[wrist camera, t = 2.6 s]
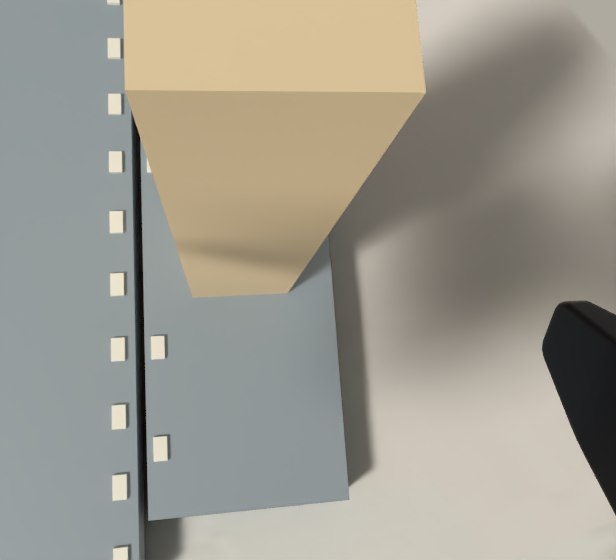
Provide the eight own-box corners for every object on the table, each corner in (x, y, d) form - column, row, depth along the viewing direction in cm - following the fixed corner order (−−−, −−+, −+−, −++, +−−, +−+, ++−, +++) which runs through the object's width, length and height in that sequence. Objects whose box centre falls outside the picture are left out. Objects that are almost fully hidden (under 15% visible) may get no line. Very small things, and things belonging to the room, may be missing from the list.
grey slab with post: (342, 493, 19) (668, 780, 5) (153, 512, 18) (-80, 928, 4) (307, 45, 22) (457, -555, 8) (142, 42, 21) (-18, -646, 7)
